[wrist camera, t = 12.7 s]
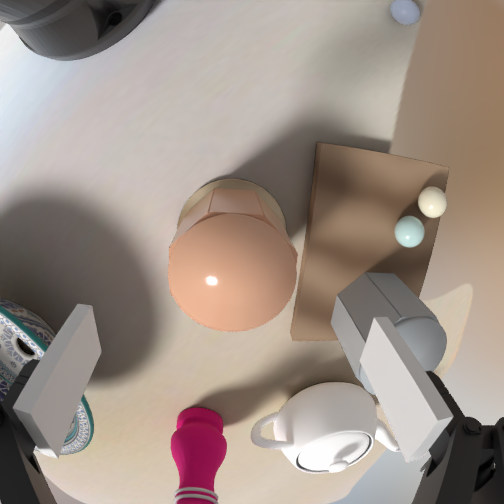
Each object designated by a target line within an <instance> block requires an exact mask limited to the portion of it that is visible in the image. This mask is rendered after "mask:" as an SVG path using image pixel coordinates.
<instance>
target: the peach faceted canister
mask: <svg viewBox="0 0 504 504" xmlns="http://www.w3.org/2000/svg"><path fill="white" fill-rule="evenodd" d="M297 256H298V254H297V252H296V250H295V248H294V246H293V244H292V242H291V240H290V238H289V236H288V234H287V232H286V231H285V229H284V227H283V225H282V223H281V221H280V219H279V218H278V217H277V216H276V214H275V213H274V212H273V211H272V210H271V209H270V207H269V206H268V205H267V204H266V203H265V202H264V200H263V199H262V198H261V197H260V196H259V195H258V194H257V192H256V191H254V190H242V189H226V188H215V189H213V190H212V191H211V192H209V193H208V194H207V195H206V196H205V197H204V198H203V199H202V200H200V201H199V202H198V203H197V204H196V205H195V206H194V207H193V208H192V209H190V210H189V211H188V212H187V213H186V215H185V217H184V219H183V220H182V222H181V224H180V226H179V228H178V230H177V232H176V235H175V237H174V239H173V241H172V243H171V245H170V247H169V267H168V280H169V286H170V293H171V295H172V296H173V297H174V299H175V301H176V302H177V304H178V305H179V307H180V308H181V309H182V310H183V311H184V312H185V313H186V314H187V315H188V316H189V317H190V318H192V319H193V320H194V321H196V322H198V323H199V324H201V325H204V326H206V327H208V328H211V329H215V330H220V331H228V332H237V331H245V330H249V329H253V328H256V327H259V326H261V325H263V324H265V323H267V322H268V321H270V320H271V319H273V318H274V317H275V316H277V315H278V314H279V313H280V312H281V311H282V310H283V309H284V307H285V306H286V304H287V303H288V302H289V301H290V299H291V296H292V294H293V291H294V288H295V284H296V275H297V272H296V263H297Z"/></svg>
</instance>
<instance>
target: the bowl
mask: <svg viewBox="0 0 504 504" xmlns="http://www.w3.org/2000/svg"><path fill="white" fill-rule="evenodd" d="M18 337H19V338H20V339H21V340H22V341H23V342H24V343H25V344H26V345H27V346H28V347H30V348H31V349H32V350H33V352H34V353H35V354H34V355H29V354H26V353H25V352H24V351H23V350H22V349H21V348H20V347H19V345H18V342H17V339H18ZM55 337H56V334H55V333H54V331H53V330H52V329H51V328H50V326H49V325H48V324H47V323H46V322H45V321H44V320H43V319H42V318H40V317H39V316H38V315H37V314H35V313H33V312H32V311H30V310H28V309H25V308H24V307H22V306H20V305H19V304H16V303H14V302H12V301H9V300H7V299H3V298H0V402H2V400H3V399H4V397H5V395H6V394H7V392H8V390H9V389H10V387H11V385H12V384H13V383H14V380H15V379H16V377H17V376H18V374H19V372H20V371H21V369H22V368H23V366H24V365H25V364H27V363H28V362H29V361H30V360H32V359H37V360H41V358H42V357H43V355H44V354H45V352H46V351H47V349H48V347H49V346H50V344H51V343H52V341H53V340H54V338H55ZM93 433H94V422H93V416H92V412H91V410H90V407H89V404H88V402H87V400H86V398H85V396H84V394H83V396H82V398H81V400H80V403H79V405H78V408H77V410H76V413H75V415H74V418H73V420H72V423H71V425H70V428H69V431H68V433H67V436H66V439H65V441H64V444H63V447H62V449H61V452H60V455H67V454H73V453H76V452H79V451H81V450H83V449H84V448H86V447H87V446H88V444H89V443H90V441H91V439H92V437H93ZM34 450H37V451H39V449H38V448H37V446H35V449H34Z"/></svg>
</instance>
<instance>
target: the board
mask: <svg viewBox="0 0 504 504" xmlns="http://www.w3.org/2000/svg"><path fill="white" fill-rule="evenodd" d="M448 172H449V167H445V166H442V165H438V164H433V163H429V162H425V161H420V160H416V159H411V158H407V157H402V156H397V155H392V154H387V153H382V152H376V151H371V150H365V149H359V148H353V147H347V146H340V145H334V144H327V143H320V142H317V147H316V156H315V165H314V173H313V182H312V190H311V198H310V206H309V213H308V221H307V228H306V235H305V243H304V249H303V256H302V263H301V270H300V276H299V282H298V289H297V295H296V301H295V307H294V313H293V319H292V325H291V330H290V333H291V337H292V340H293V341H326V340H338V338H337V336H336V334H335V332H334V330H333V327H332V325H331V319H332V315H333V310H334V306H335V302H336V297H337V295H338V293H339V292H341V291H342V290H343V289H344V288H346V287H347V286H348V285H350V284H351V283H352V282H353V281H355V280H356V279H357V278H358V277H360V276H361V275H362V274H363V273H365V272H370V273H394V274H395V275H396V276H397V277H398V278H399V279H400V280H401V281H402V282H403V283H404V284H405V285H406V286H407V287H408V288H409V289H410V290H411V291H412V292H413V293H414V294H415V295H416V296H417V297H418V298H419V295H420V292H421V289H422V286H423V283H424V279H425V276H426V272H427V269H428V265H429V261H430V258H431V254H432V249H433V246H434V242H435V238H436V234H437V229H438V225H439V220H440V216H439V217H437V218H430V217H427V216H425V215H424V214H423V213H422V212H421V210H420V208H419V205H418V198H419V195H420V193H421V191H422V190H423V189H425V188H427V187H431V186H433V187H437V188H439V189H441V190H442V191H443V192H444V193H445V190H446V184H447V179H448ZM405 216H414V217H416V218H418V219H419V220H420V221H421V222H422V224H423V226H424V232H425V233H424V238H423V240H422V241H421V243H420V244H419V245H417V246H415V247H411V248H409V247H404V246H402V245H401V244H400V243H399V242H398V241H397V239H396V237H395V232H394V231H395V226H396V223H397V222H398V221H399V220H400V219H401V218H402V217H405Z"/></svg>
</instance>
